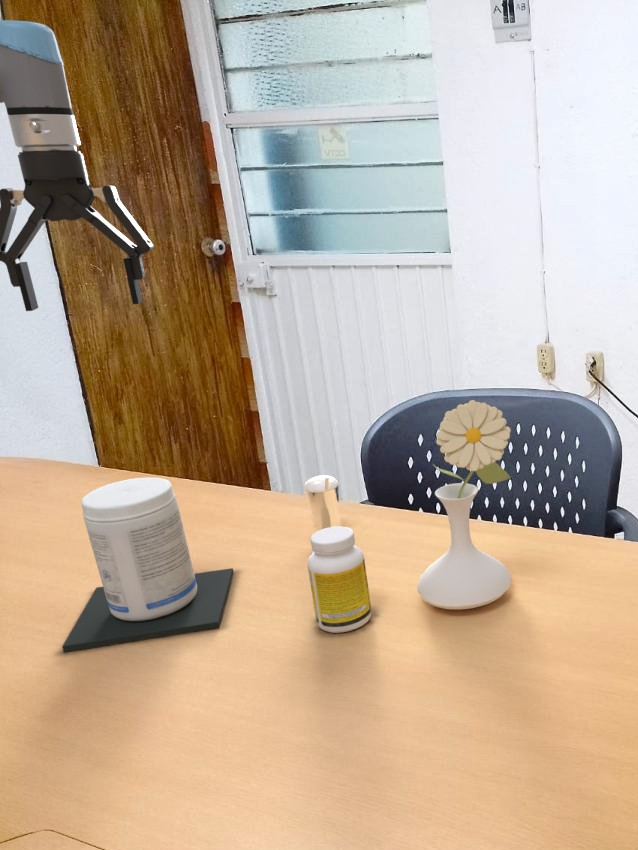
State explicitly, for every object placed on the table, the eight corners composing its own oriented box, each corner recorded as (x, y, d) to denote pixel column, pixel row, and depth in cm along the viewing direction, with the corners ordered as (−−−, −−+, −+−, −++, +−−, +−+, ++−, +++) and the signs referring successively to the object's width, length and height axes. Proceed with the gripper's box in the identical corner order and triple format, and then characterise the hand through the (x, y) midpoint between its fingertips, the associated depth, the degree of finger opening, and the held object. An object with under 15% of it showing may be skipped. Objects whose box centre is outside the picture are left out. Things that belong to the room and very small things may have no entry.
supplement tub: (205, 579, 105) (182, 472, 100) (190, 617, 97) (164, 501, 92) (121, 591, 103) (94, 481, 98) (98, 630, 94) (67, 512, 89)
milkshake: (320, 549, 115) (310, 482, 111) (308, 536, 119) (297, 471, 115) (352, 540, 117) (343, 474, 114) (339, 527, 121) (330, 463, 118)
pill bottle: (383, 617, 97) (372, 532, 93) (337, 640, 93) (324, 551, 89) (351, 601, 101) (340, 518, 97) (306, 623, 96) (292, 536, 93)
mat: (63, 652, 92) (61, 646, 91) (97, 593, 104) (96, 587, 104) (219, 627, 96) (217, 621, 96) (233, 573, 108) (232, 567, 108)
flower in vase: (400, 611, 98) (376, 410, 90) (445, 567, 108) (427, 383, 100) (502, 627, 94) (487, 418, 86) (538, 580, 105) (528, 389, 96)
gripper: (-71, 151, 106) (-25, 316, 113) (144, 147, 112) (175, 303, 119) (-46, 152, 112) (-4, 308, 120) (155, 148, 119) (184, 296, 126)
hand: (86, 306), depth 119 cm, fingers open, 13 cm apart
